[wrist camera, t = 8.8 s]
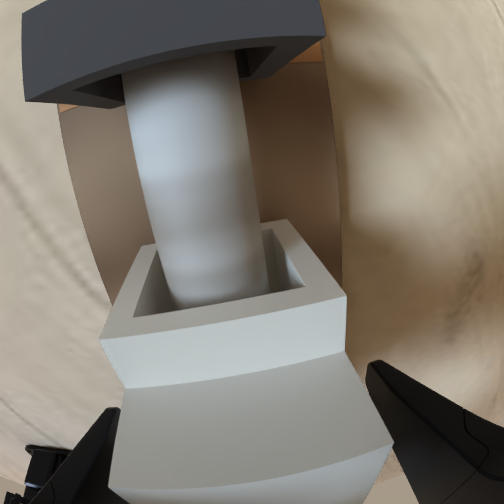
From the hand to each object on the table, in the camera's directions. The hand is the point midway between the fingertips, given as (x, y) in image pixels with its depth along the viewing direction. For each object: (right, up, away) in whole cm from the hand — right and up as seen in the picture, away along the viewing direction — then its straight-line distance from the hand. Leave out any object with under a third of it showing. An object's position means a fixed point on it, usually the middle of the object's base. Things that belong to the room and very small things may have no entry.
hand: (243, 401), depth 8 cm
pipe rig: (-1, +4, +5) cm, 6 cm away
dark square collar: (-2, +11, 0) cm, 11 cm away
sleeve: (-1, +2, +4) cm, 5 cm away
